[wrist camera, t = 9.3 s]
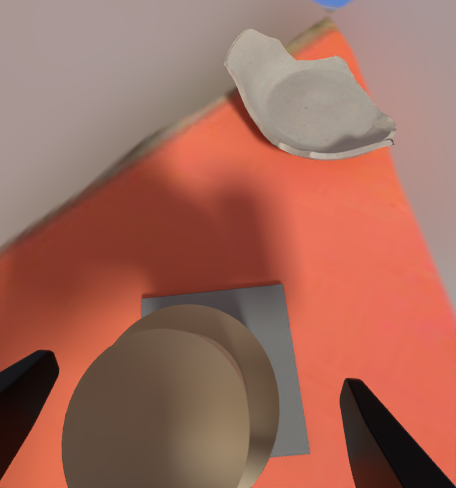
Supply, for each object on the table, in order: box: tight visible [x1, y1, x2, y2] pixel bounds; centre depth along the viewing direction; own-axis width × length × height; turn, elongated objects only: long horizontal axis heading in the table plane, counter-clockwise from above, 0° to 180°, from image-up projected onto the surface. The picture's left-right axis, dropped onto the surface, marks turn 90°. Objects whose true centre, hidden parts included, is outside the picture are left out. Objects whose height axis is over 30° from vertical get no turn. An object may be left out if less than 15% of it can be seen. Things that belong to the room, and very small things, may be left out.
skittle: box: [62, 304, 280, 488], centre depth 11 cm, size 5×5×12 cm
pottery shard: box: [224, 29, 396, 161], centre depth 20 cm, size 10×11×5 cm
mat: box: [141, 284, 310, 457], centre depth 17 cm, size 9×9×1 cm
